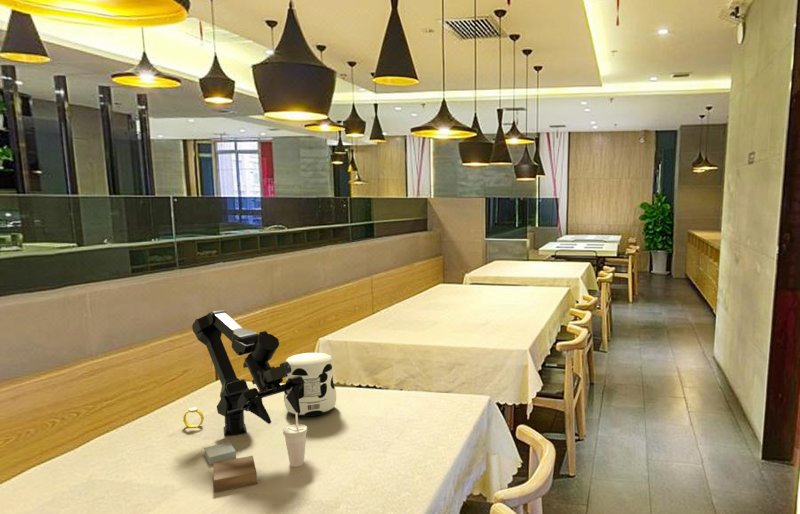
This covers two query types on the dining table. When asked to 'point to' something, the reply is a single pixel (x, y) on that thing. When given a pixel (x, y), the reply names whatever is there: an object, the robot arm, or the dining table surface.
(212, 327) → the robot arm
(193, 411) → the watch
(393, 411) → the dining table surface
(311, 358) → the milk container
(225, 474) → the walnut block
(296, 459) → the smoothie
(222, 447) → the grey tile
